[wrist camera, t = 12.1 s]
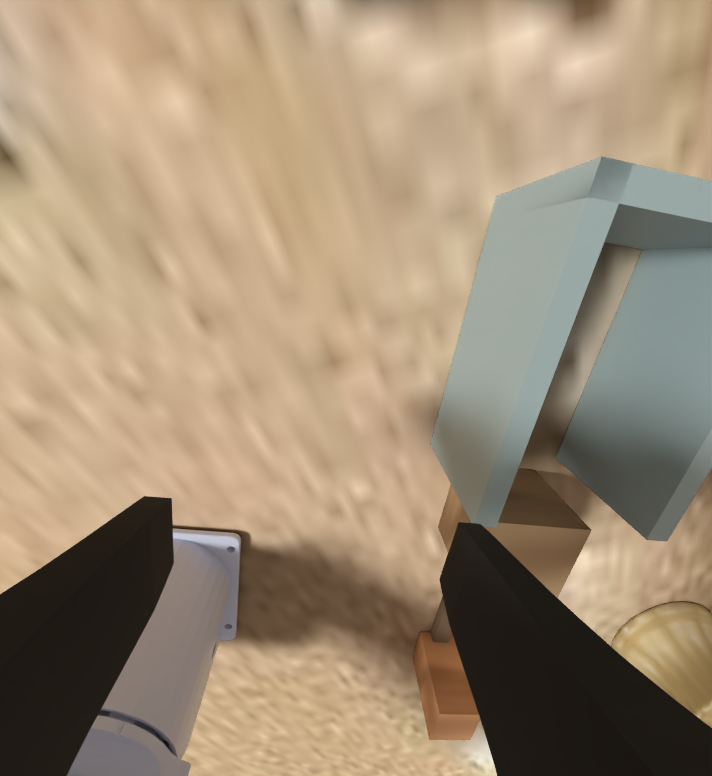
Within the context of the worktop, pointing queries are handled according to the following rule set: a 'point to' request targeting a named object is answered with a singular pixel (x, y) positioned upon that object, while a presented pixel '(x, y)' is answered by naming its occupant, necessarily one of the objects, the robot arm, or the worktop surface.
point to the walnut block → (535, 551)
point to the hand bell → (673, 652)
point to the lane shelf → (616, 358)
